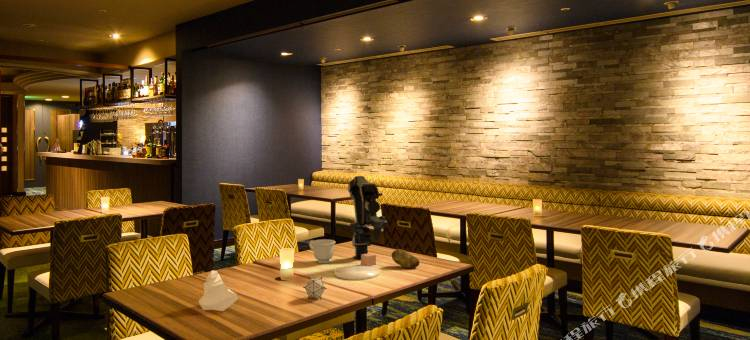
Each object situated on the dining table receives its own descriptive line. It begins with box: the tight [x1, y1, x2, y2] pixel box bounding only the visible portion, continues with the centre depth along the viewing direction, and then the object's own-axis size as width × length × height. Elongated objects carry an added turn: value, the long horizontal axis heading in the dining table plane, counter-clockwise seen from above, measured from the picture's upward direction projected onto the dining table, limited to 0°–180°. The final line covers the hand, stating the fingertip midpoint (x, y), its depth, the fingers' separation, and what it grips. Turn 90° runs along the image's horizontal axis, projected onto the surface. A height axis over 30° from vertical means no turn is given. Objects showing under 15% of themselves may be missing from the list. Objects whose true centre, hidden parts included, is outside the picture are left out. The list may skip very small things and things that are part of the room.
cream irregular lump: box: [198, 270, 239, 312], centre depth 198 cm, size 12×15×14 cm
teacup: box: [308, 238, 336, 264], centre depth 265 cm, size 12×15×10 cm
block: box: [360, 252, 377, 267], centre depth 258 cm, size 5×5×5 cm
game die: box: [302, 276, 328, 300], centre depth 207 cm, size 9×8×10 cm
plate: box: [333, 265, 380, 281], centre depth 242 cm, size 20×20×1 cm
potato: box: [391, 248, 420, 269], centre depth 254 cm, size 8×13×8 cm, turn 49°
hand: (368, 242), depth 258 cm, fingers open, 9 cm apart
